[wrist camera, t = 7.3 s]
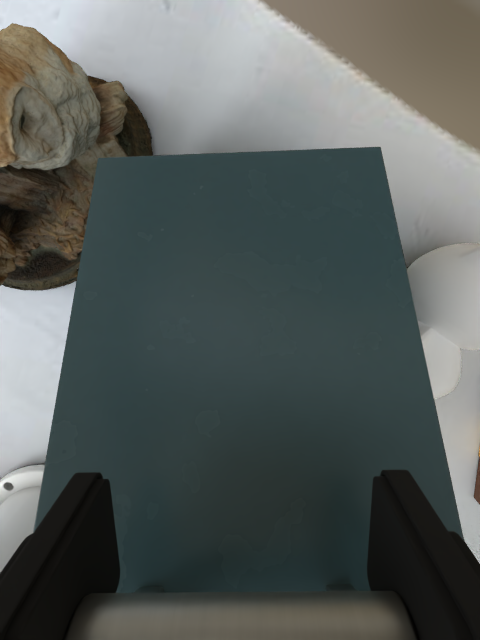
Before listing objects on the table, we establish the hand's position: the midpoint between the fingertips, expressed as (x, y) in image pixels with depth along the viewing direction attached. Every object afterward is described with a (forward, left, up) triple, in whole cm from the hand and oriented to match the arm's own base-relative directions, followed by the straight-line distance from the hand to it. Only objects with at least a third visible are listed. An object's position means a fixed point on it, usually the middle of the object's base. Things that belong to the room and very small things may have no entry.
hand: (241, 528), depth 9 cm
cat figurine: (+13, 0, -23) cm, 26 cm away
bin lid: (0, +2, -5) cm, 6 cm away
